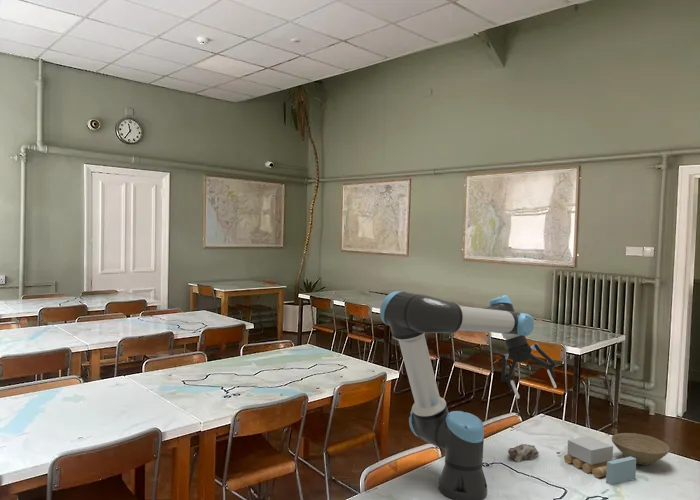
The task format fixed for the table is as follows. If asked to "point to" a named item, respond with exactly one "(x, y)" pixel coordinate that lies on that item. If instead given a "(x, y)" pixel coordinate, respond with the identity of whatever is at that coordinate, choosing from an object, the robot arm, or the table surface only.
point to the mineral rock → (523, 452)
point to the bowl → (640, 447)
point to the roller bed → (588, 466)
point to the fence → (621, 470)
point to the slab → (590, 450)
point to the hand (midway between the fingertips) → (536, 392)
